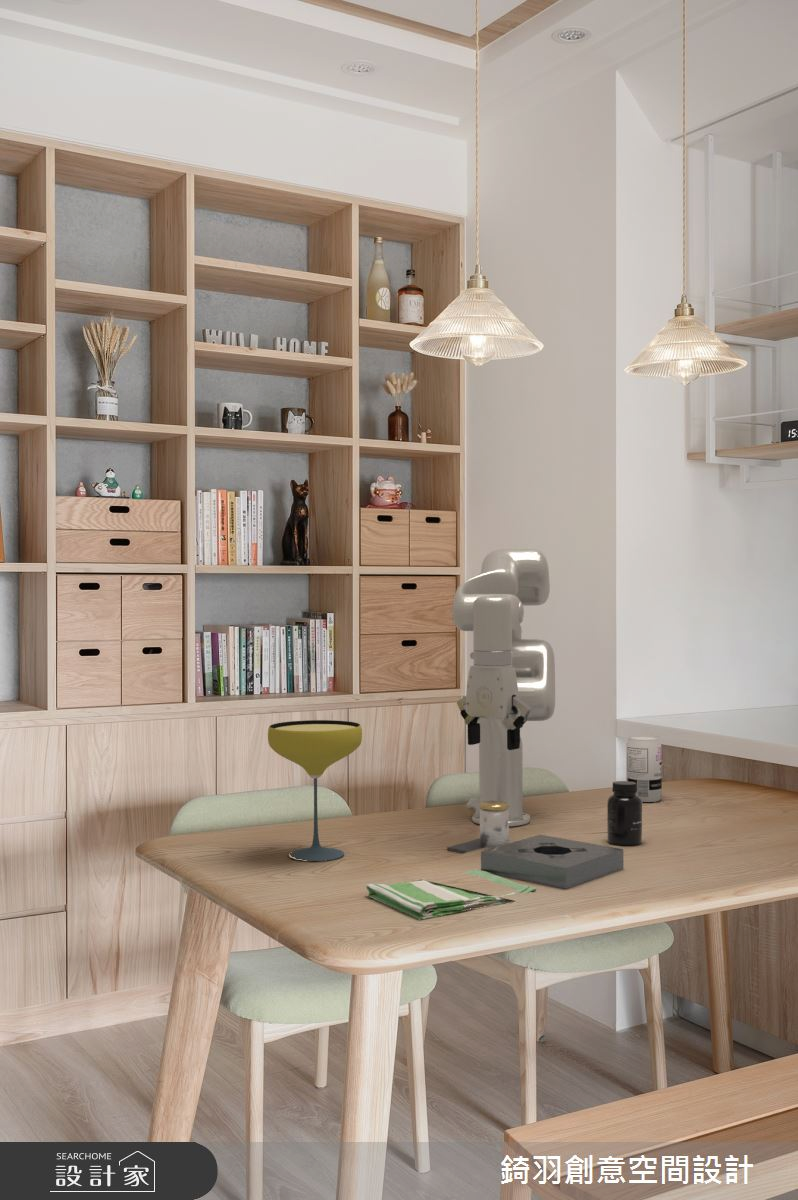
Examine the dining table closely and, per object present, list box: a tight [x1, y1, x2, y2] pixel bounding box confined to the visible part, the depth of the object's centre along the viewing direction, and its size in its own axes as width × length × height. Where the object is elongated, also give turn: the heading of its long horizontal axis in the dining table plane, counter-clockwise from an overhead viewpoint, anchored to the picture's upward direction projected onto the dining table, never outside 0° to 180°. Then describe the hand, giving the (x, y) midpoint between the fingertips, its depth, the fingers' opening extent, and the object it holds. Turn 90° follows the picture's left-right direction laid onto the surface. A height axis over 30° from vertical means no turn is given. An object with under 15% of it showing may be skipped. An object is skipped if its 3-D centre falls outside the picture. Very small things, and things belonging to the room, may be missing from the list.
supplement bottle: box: [606, 780, 643, 847], centre depth 223 cm, size 7×7×12 cm
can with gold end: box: [479, 801, 510, 849], centre depth 218 cm, size 6×6×8 cm
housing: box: [480, 834, 624, 890], centre depth 198 cm, size 18×18×4 cm
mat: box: [446, 838, 482, 854], centre depth 218 cm, size 13×13×1 cm
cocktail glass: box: [267, 719, 363, 862], centre depth 214 cm, size 18×18×25 cm
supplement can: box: [625, 735, 663, 803], centre depth 268 cm, size 8×8×15 cm
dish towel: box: [365, 869, 537, 921], centre depth 185 cm, size 18×23×3 cm
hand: (493, 746), depth 218 cm, fingers open, 9 cm apart
